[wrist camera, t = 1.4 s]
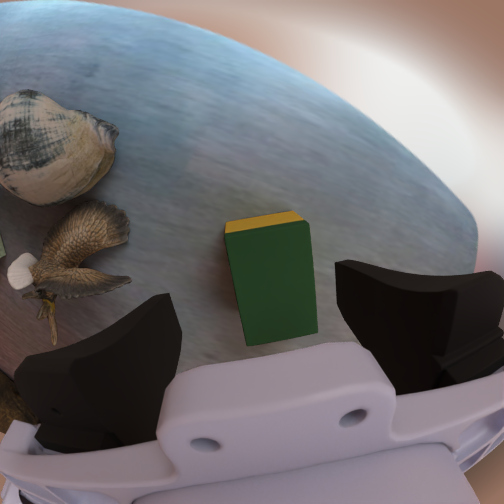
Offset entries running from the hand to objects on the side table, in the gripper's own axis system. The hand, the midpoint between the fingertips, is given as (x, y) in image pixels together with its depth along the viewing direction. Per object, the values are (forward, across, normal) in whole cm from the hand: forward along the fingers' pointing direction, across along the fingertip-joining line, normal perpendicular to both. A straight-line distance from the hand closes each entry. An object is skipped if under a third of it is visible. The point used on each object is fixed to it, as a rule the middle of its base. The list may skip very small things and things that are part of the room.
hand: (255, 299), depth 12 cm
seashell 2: (+8, +13, -11) cm, 18 cm away
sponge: (+8, -1, +2) cm, 8 cm away
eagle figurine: (+8, +12, -2) cm, 14 cm away
